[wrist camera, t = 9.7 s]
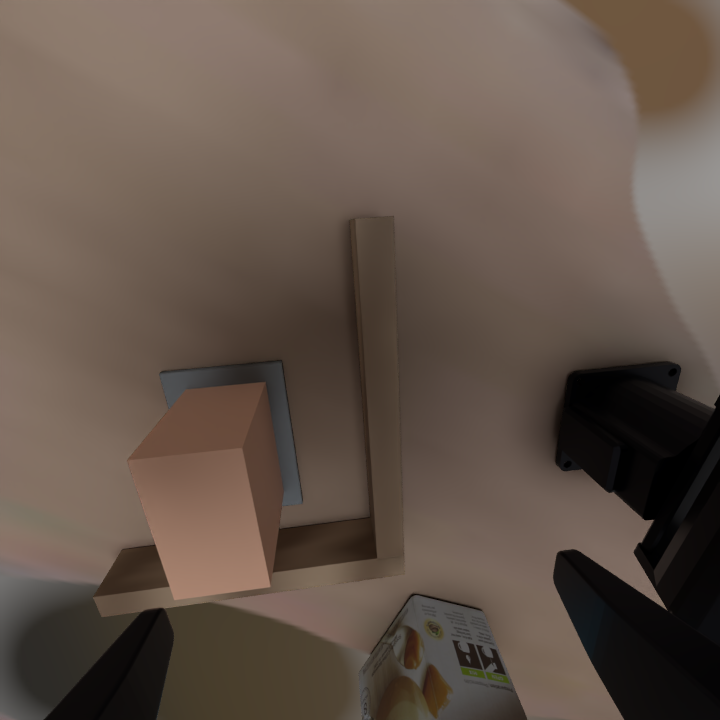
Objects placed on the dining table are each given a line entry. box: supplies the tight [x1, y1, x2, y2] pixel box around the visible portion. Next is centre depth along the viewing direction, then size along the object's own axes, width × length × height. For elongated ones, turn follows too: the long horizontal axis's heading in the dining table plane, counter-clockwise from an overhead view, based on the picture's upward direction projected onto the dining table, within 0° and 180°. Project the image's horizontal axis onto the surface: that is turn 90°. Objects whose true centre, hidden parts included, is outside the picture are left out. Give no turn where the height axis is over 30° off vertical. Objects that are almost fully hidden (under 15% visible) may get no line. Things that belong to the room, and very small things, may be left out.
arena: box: [93, 216, 405, 617], centre depth 18 cm, size 16×19×3 cm
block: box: [127, 382, 284, 600], centre depth 17 cm, size 7×4×6 cm, turn 4°
